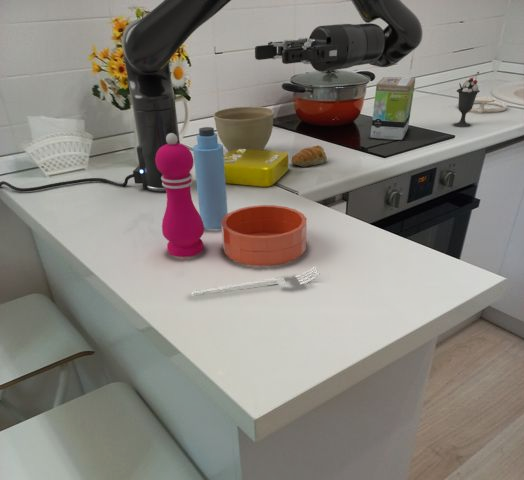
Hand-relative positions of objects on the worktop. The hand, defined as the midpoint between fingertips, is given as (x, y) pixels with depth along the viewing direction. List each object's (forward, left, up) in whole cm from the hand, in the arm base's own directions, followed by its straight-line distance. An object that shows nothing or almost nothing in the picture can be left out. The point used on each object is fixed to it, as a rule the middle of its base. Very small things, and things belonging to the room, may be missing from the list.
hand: (269, 54), depth 90 cm
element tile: (-7, +21, -28) cm, 36 cm away
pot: (0, -21, -28) cm, 35 cm away
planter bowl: (-11, +40, -28) cm, 50 cm away
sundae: (+55, +74, -28) cm, 97 cm away
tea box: (+31, +63, -28) cm, 76 cm away
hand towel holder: (+68, +99, -28) cm, 123 cm away
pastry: (+7, +32, -28) cm, 43 cm away
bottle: (-10, -11, -28) cm, 32 cm away
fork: (0, -35, -28) cm, 45 cm away
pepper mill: (-14, -23, -28) cm, 39 cm away
